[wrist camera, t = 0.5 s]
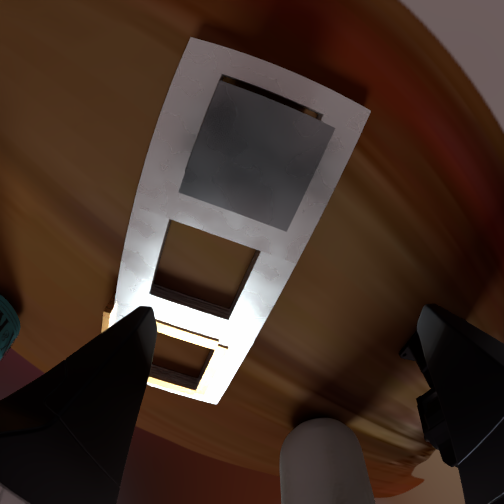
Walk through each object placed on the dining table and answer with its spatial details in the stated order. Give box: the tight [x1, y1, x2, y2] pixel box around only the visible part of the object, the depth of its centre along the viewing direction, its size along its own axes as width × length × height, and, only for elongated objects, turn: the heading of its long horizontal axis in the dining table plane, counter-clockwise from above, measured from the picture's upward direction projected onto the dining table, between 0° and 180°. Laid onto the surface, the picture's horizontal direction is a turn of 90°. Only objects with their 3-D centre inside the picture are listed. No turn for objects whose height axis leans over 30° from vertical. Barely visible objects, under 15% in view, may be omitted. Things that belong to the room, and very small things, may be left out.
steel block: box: [178, 81, 335, 232], centre depth 16 cm, size 5×5×8 cm
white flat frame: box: [102, 37, 371, 404], centre depth 22 cm, size 13×30×2 cm, turn 158°
